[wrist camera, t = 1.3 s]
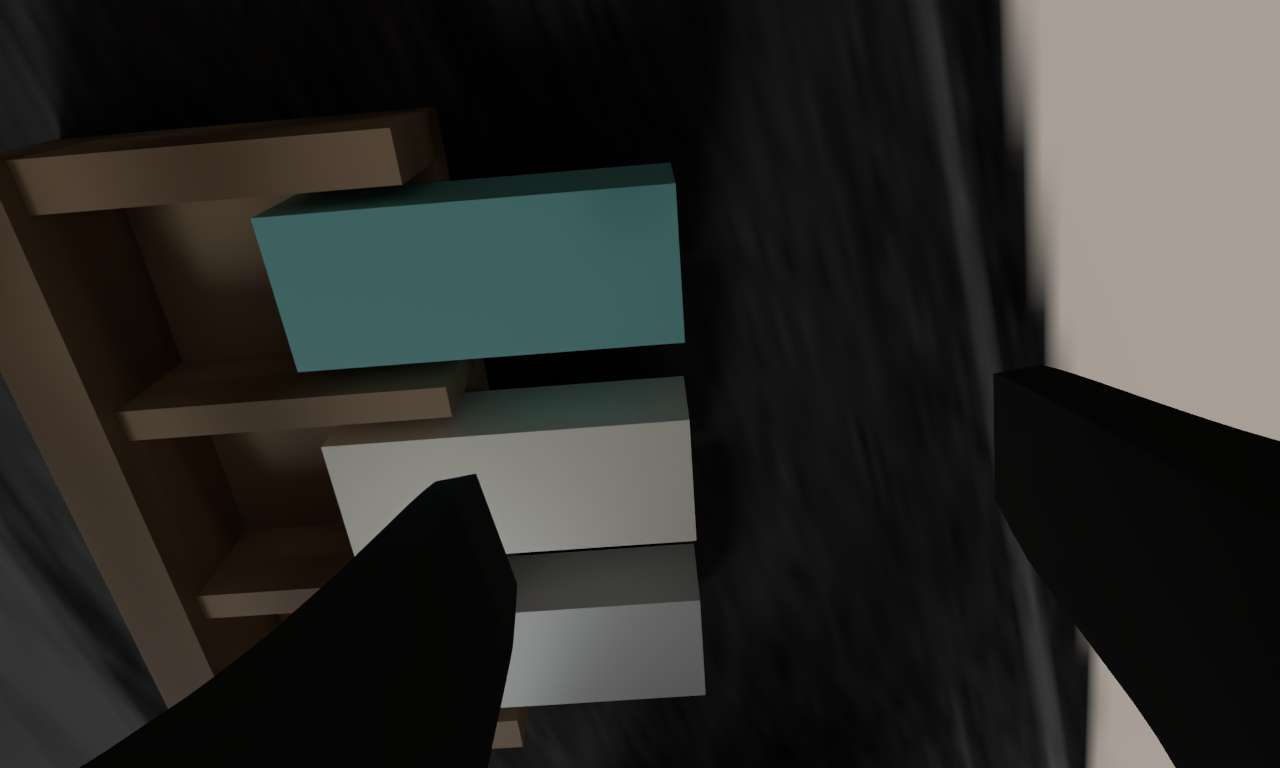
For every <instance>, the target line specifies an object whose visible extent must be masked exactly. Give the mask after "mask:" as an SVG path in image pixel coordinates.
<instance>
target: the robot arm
mask: <svg viewBox="0 0 1280 768" xmlns="http://www.w3.org/2000/svg"><path fill="white" fill-rule="evenodd" d="M993 380H994V453H995V500H996V502H997V504H998V505H999V507H1000V509H1001V511H1002V513H1003V515H1004V517H1005V519H1006V521H1007V523H1008V525H1009V527H1010V528H1011V530H1012V532H1013V534H1014V536H1015V538H1016V539H1017V541H1018V543H1019V545H1020V546H1021V548H1022V550H1023V552H1024V554H1025V555H1026V557H1027V559H1028V561H1029V562H1030V563H1031V565H1032V566H1033V568H1034V569H1035V570H1036V572H1037V573H1038V575H1039V576H1040V577H1041V579H1042V580H1043V581H1044V583H1045V584H1046V586H1047V587H1048V588H1049V590H1050V591H1051V592H1052V594H1053V595H1054V596H1055V598H1056V599H1057V601H1058V602H1059V603H1060V605H1061V606H1062V607H1063V609H1064V610H1065V611H1066V613H1067V614H1068V615H1069V617H1070V618H1071V619H1072V621H1073V622H1074V623H1075V625H1076V626H1077V627H1078V629H1079V630H1080V631H1081V633H1082V634H1083V635H1084V637H1085V638H1086V639H1087V641H1088V642H1089V643H1090V645H1091V646H1092V647H1093V649H1094V650H1095V652H1096V653H1097V654H1098V656H1099V657H1100V658H1101V660H1102V661H1103V662H1104V664H1105V665H1106V666H1107V668H1108V669H1109V670H1110V672H1111V673H1112V674H1113V676H1114V677H1115V678H1116V680H1117V681H1118V682H1119V684H1120V685H1121V686H1122V687H1123V689H1124V690H1125V692H1126V693H1127V694H1128V696H1129V697H1130V698H1131V700H1132V701H1133V702H1134V704H1135V705H1136V707H1137V708H1138V710H1139V711H1140V713H1141V714H1142V716H1143V717H1144V719H1145V720H1146V721H1147V723H1148V724H1149V726H1150V727H1151V729H1152V730H1153V732H1154V733H1155V735H1156V736H1157V738H1158V739H1159V741H1160V743H1161V744H1162V746H1163V748H1164V749H1165V751H1166V752H1167V754H1168V756H1169V757H1170V759H1171V761H1172V762H1173V764H1174V766H1175V767H1176V768H1280V441H1277V440H1273V439H1270V438H1267V437H1263V436H1260V435H1257V434H1253V433H1250V432H1246V431H1243V430H1240V429H1236V428H1233V427H1230V426H1227V425H1223V424H1221V423H1217V422H1214V421H1211V420H1208V419H1205V418H1202V417H1198V416H1196V415H1193V414H1190V413H1187V412H1184V411H1180V410H1178V409H1175V408H1172V407H1169V406H1166V405H1163V404H1160V403H1157V402H1154V401H1152V400H1148V399H1146V398H1143V397H1140V396H1137V395H1134V394H1131V393H1128V392H1126V391H1123V390H1120V389H1116V388H1114V387H1111V386H1108V385H1105V384H1103V383H1100V382H1097V381H1094V380H1091V379H1088V378H1084V377H1081V376H1079V375H1076V374H1073V373H1069V372H1066V371H1063V370H1059V369H1056V368H1052V367H1048V366H1044V365H1037V366H1032V367H1027V368H1021V369H1016V370H1011V371H1006V372H1001V373H995V374H993ZM516 598H517V582H516V579H515V577H514V574H513V571H512V569H511V566H510V563H509V561H508V558H507V555H506V553H505V550H504V547H503V544H502V542H501V539H500V536H499V534H498V531H497V528H496V526H495V523H494V520H493V518H492V515H491V512H490V510H489V507H488V504H487V502H486V499H485V496H484V494H483V491H482V488H481V486H480V483H479V480H478V477H477V475H476V474H471V475H466V476H461V477H456V478H450V479H445V480H440V481H435V482H434V483H433V484H431V485H430V486H429V487H428V488H426V489H425V490H424V491H423V492H422V493H420V494H419V495H418V496H417V497H416V498H415V499H414V500H413V501H412V502H411V503H410V504H409V505H407V506H406V507H405V508H404V509H403V510H402V511H401V512H400V513H399V514H398V515H397V516H396V517H395V518H394V519H393V520H392V521H391V522H390V523H389V524H388V525H387V526H386V527H385V528H384V529H383V530H382V531H381V532H380V533H378V534H377V535H376V536H375V537H374V538H373V539H372V540H371V541H370V542H369V543H368V544H367V545H366V546H365V547H364V548H363V549H362V550H361V551H360V552H359V553H358V554H357V555H356V556H355V557H354V558H353V559H352V560H350V561H349V562H348V563H347V564H346V565H345V566H344V567H343V568H342V569H341V570H340V571H339V572H338V573H337V574H336V575H335V576H333V577H332V578H331V579H330V580H329V581H328V582H327V583H326V584H325V585H323V586H322V587H321V588H320V589H319V590H318V591H317V592H316V593H314V594H313V595H312V596H311V597H310V598H309V599H308V600H307V601H306V602H304V603H303V604H302V605H301V606H300V607H299V608H298V609H297V610H295V611H294V612H293V613H292V614H291V615H290V616H289V617H288V618H287V619H285V620H284V621H283V622H282V623H281V624H280V625H279V626H277V627H276V628H275V629H274V630H273V631H271V632H270V633H269V634H268V635H267V636H265V637H264V638H263V639H262V640H260V641H259V642H258V643H257V644H255V645H254V646H253V647H252V648H251V649H249V650H248V651H247V652H246V653H244V654H243V655H242V656H240V657H239V658H238V659H236V660H235V661H234V662H232V663H231V664H230V665H229V666H227V667H226V668H225V669H223V670H222V671H221V672H219V673H218V674H217V675H215V676H214V677H213V678H212V679H210V680H209V681H208V682H206V683H205V684H204V685H202V686H201V687H199V688H198V689H197V690H195V691H194V692H193V693H191V694H190V695H188V696H187V697H185V698H184V699H182V700H181V701H180V702H178V703H177V704H175V705H174V706H172V707H171V708H169V709H168V710H166V711H165V712H163V713H162V714H160V715H159V716H157V717H156V718H154V719H153V720H151V721H150V722H148V723H147V724H145V725H144V726H143V727H141V728H140V729H138V730H137V731H135V732H134V733H132V734H131V735H129V736H128V737H126V738H125V739H123V740H122V741H120V742H119V743H117V744H116V745H114V746H113V747H111V748H110V749H108V750H107V751H105V752H104V753H102V754H101V755H99V756H97V757H96V758H94V759H93V760H91V761H89V762H88V763H86V764H85V765H83V766H81V767H80V768H488V764H489V759H490V755H491V750H492V745H493V741H494V736H495V731H496V727H497V722H498V718H499V713H500V708H501V704H502V699H503V694H504V689H505V684H506V680H507V675H508V670H509V665H510V660H511V655H512V650H513V640H514V629H515V616H516Z"/></svg>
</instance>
